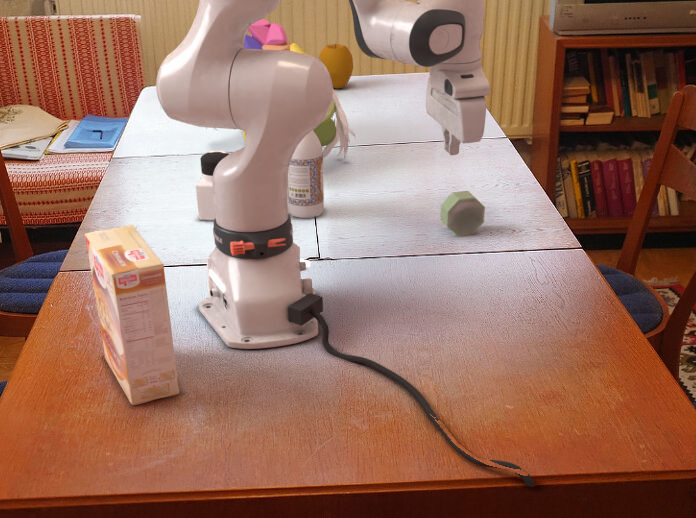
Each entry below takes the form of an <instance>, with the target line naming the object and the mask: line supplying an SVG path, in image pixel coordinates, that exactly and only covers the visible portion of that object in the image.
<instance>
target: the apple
mask: <svg viewBox="0 0 696 518" xmlns="http://www.w3.org/2000/svg"><path fill="white" fill-rule="evenodd" d="M318 58H319V59H320V60H321V61H322V62H323V63H324V65H325V66H326V68H327V70H328V72H329V74H330V77H331V80H332V85H333V89H341V88H342V89H343V88H345V87H346V85H348V83H349V81H350V79H351V78H352V74H353V71H354V59H353V58H354V57H353V54H352V53H351V51H350V49H349V48H348V47H347V46H346V45H344V44H340V43H337V42H336V43H334V44H326V45H325V46H324V47H322V49H321V51H320V53H319V55H318Z"/></svg>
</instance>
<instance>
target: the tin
mask: <svg viewBox="0 0 696 518" xmlns="http://www.w3.org/2000/svg"><path fill="white" fill-rule="evenodd" d="M485 211H486V206H485V205H484V204H483V203H481V201H480V200H479V199H478V198H476V197H475V196H474V195H473V194H472V193H471V192H470V191H469V190H462V191H454V192H451V193H450V194H449V196H447V198H446V199H445V200H444V201H443V202H442V203H441V205H440V221H441V222H442V223H443V224H444V225H445V226H446V228H448V229H449V230H450V231H451V232H452V233H453V234H454V235H455V236H456V237H461V236H469V235H473V234H475V232H476V231H477V230H478V229H479V228H480V227H481V226H482V225H483V224H484V223H485V213H486V212H485Z"/></svg>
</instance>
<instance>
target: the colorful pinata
mask: <svg viewBox="0 0 696 518" xmlns="http://www.w3.org/2000/svg"><path fill="white" fill-rule="evenodd" d="M247 32H248V33H249V34H250V35H249V34H247V33H246V36H245V40H244V48H246V49H266V50H289V51H294V52H298V53H302V54H306V55H309V56H311V55H310V54H309V53H308V54H307V53H306V52H305V51H304V50H303V49H302V48H301V47H300V46H299V45H298V44H297V43H296V42H293V43H292V42H290V40H288V36H287V34H286V31H285V28H284V26H283V25H281V24H279V23H276V22H273V23H271V22H270V21H268V20H267V19H265V18H262V19H261V20H259V21H257V22H255V23H253V24H251V26H250V27H249V29H248V31H247ZM334 115H335V118H334V119H333V117H334ZM205 129H208V127H205ZM214 130H216V131H219V130H218V129H217V128H214ZM313 131H314V133H315V134H316V135H317V137H318V139H319V141H320V143H321V146H322V148H323V147H324V149H322V152H323V160H324V159H326V157H328V155H329V154H330V153H331V151H332V150H333V148H334V147H335V146H336V145H337V144H338V143H339V151H338V155H336V156H337V157H339V156H341V154H342V155H343V160H345V159H346V155H347V153H348V149H349V145H350V142H351V140H350V135H349V133H350V134H351V136H352V137H356V134H355V132H354V131H353V130H351V128H350V127H349V123H348V119H347V115H346V113H345V111H344V109H343V108H342V106H341V102H340V99H339V97H338V95H337V94H336V92H335V90H334V89H333V98H332V103H331V106H330V109H329V112H328V114H327V115H326V117H325V118H324V120H323V121H322V122H321V123H320V124H319V125H318V126H317V127H316V128H315V129H313ZM242 135H243V139H244V143H246V136H245V132H244V130H242ZM354 139H355V140H356V138H354Z"/></svg>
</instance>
